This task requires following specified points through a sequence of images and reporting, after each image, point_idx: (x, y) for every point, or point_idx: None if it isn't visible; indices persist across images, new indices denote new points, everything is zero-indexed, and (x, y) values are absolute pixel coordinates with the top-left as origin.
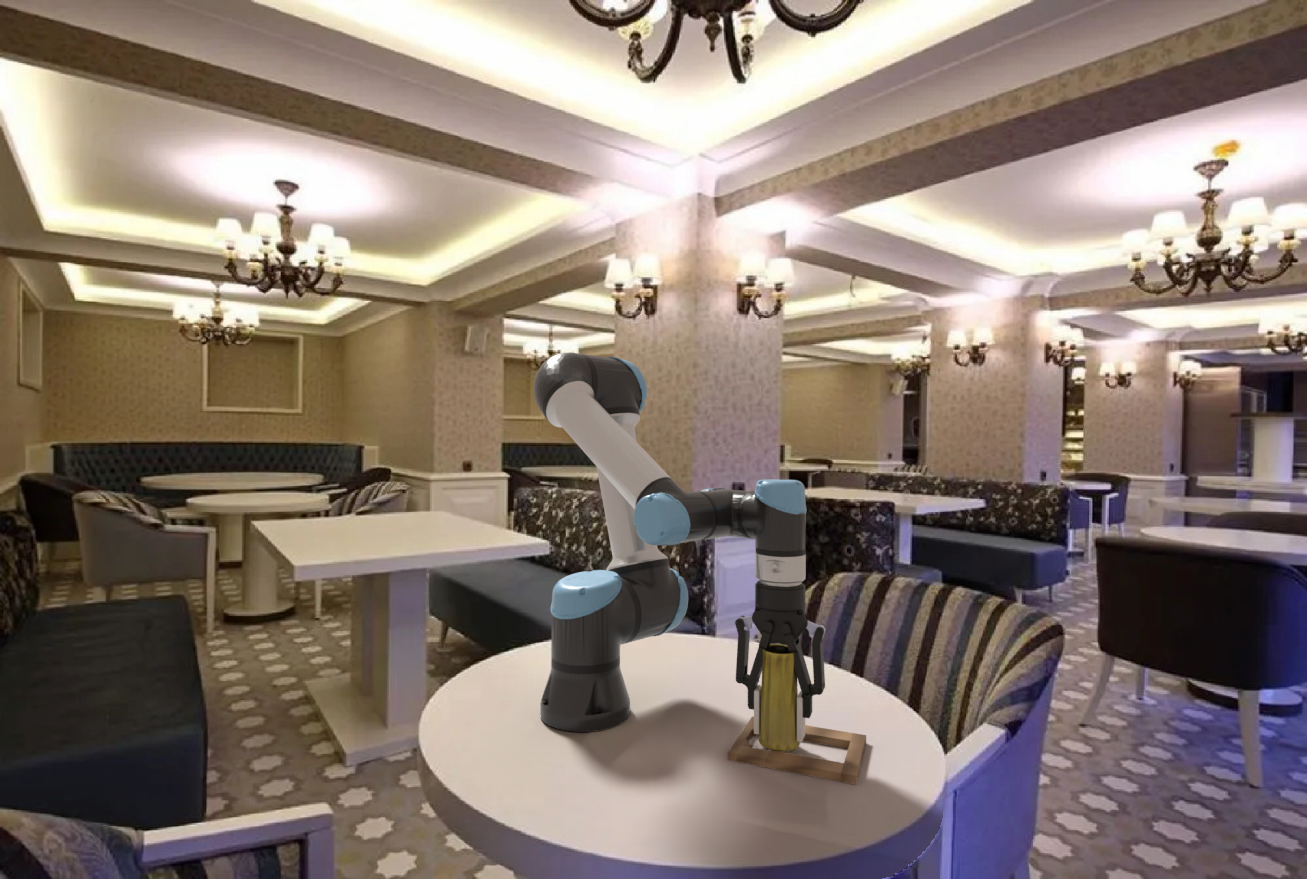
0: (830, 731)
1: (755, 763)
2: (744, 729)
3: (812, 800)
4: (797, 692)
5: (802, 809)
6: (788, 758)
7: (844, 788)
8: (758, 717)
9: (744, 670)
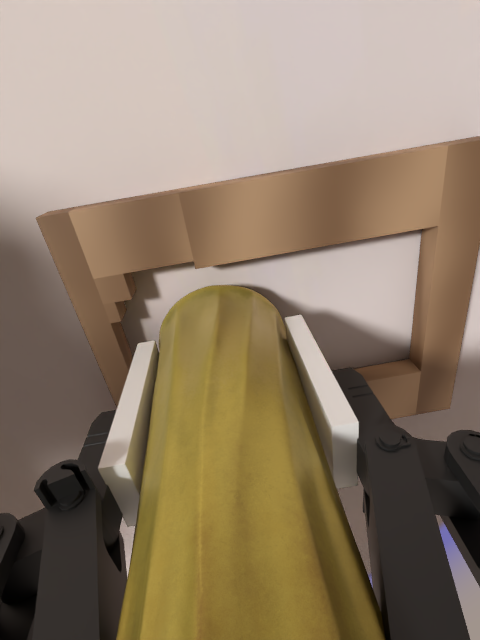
0: (363, 181)
1: None
2: (91, 337)
3: (358, 477)
4: (327, 464)
5: (347, 503)
6: None
7: (412, 417)
8: None
9: (27, 637)
